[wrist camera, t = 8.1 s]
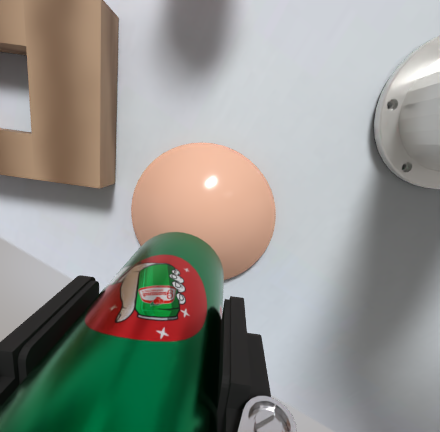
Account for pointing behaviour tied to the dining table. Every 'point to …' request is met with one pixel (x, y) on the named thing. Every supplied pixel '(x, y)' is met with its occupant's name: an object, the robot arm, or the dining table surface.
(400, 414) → the dining table surface
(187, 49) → the dining table surface
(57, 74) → the pocket board
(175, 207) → the peach domed disc
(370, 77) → the dining table surface
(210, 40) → the dining table surface
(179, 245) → the soda can
